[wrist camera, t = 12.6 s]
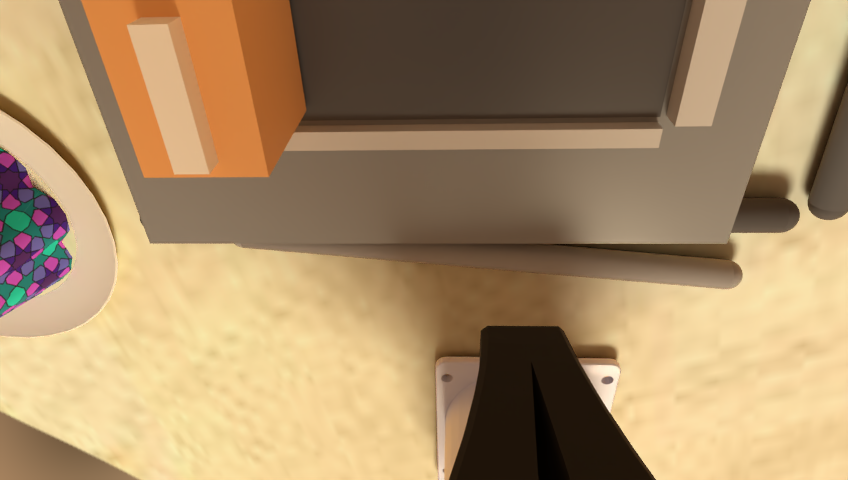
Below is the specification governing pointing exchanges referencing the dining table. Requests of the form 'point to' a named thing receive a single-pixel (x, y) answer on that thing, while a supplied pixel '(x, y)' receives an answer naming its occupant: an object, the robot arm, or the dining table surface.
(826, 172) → the cord
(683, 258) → the cord
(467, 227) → the grey framed board
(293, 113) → the lever
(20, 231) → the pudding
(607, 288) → the dining table surface
